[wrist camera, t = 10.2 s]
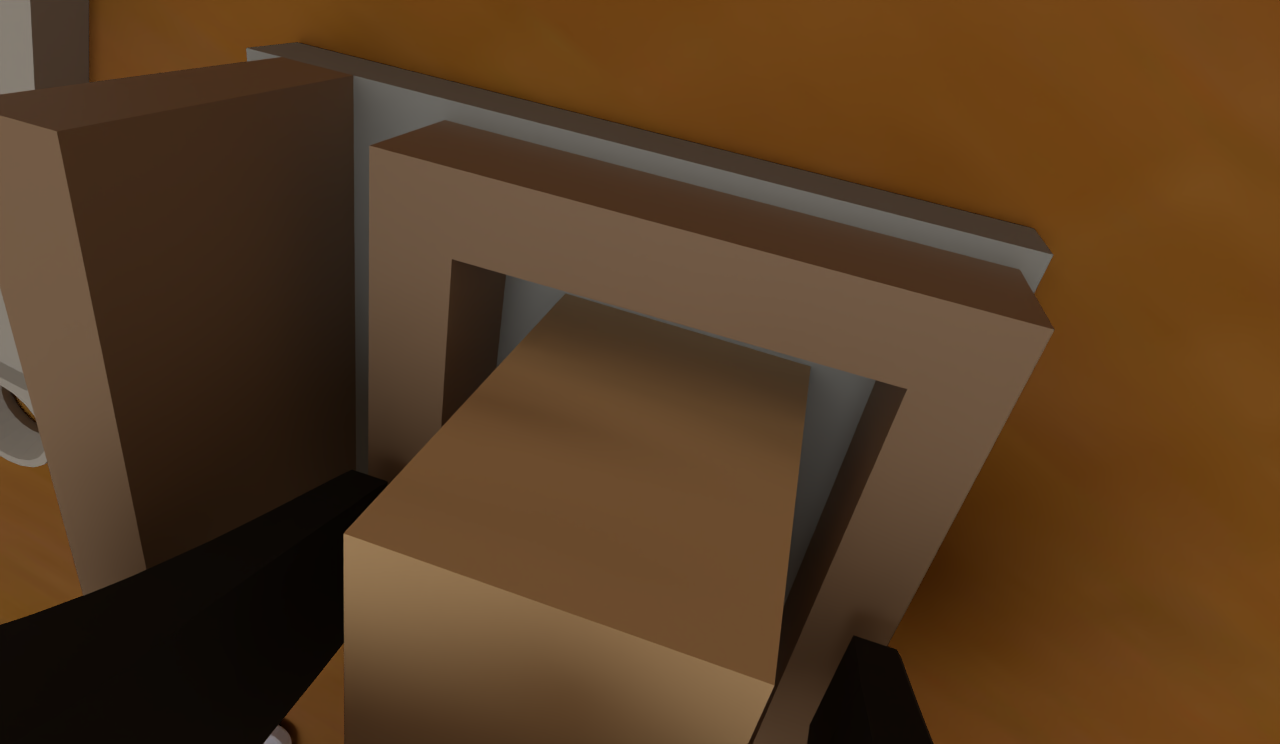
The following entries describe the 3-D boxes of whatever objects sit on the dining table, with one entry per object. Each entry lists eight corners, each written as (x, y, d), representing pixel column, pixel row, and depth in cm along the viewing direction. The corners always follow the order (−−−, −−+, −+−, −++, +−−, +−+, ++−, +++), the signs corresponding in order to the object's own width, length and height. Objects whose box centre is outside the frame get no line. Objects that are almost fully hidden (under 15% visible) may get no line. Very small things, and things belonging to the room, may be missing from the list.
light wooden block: (701, 663, 15) (620, 1024, 10) (515, 597, 15) (344, 908, 10) (810, 366, 11) (775, 685, 6) (565, 293, 12) (343, 532, 7)
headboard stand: (795, 729, 17) (769, 1060, 12) (319, 563, 18) (109, 790, 13) (1034, 228, 11) (1197, 453, 6) (297, 41, 12) (-102, 86, 7)
